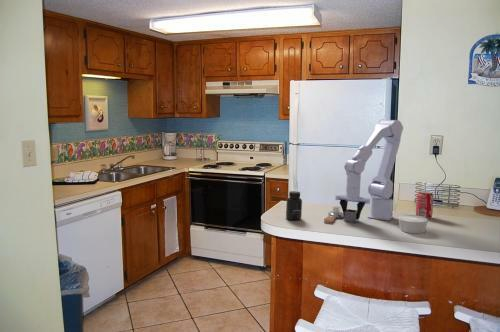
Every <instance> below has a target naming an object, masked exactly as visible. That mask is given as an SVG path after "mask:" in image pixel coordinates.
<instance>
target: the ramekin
mask: <svg viewBox="0 0 500 332" xmlns="http://www.w3.org/2000/svg"><path fill="white" fill-rule="evenodd" d="M397 219H398V224H399V230H400V231H402V232H404V233H407V234H412V235H413V234H415V235H417V234H418V235H420V234H423V233H425V232H426V230H427V226H428V225H427V224H428V223H429V219H426V218H424V217H421V216H416V214H403V215H402V214H401V215H399V216H398V218H397Z"/></svg>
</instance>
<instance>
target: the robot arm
mask: <svg viewBox="0 0 500 332" xmlns="http://www.w3.org/2000/svg"><path fill="white" fill-rule="evenodd" d="M403 130H404V126H403V123H402V122H401V121H400V120H399V119H395V120H394V119H380V120H379V121H377V123H376V125H375V129H374V131H373V133H372V134H371V136H370V137H369V139H368V141H367V142H366V143H365V145H361V146H359V147H358V150H357V151H356V152H355V154H353V156H352V157H351V159H348V160H347V161H346V163H345V165H344V170H345V173H346V174H345V175H346V185H345V186H346V188H345V190H346V191H345V194H344V195H341V194H336V195H335V201H339V205H340V208H341V210H342V213H343V214H344V216H345V211H346V210H347V209H348V202H352V203H357V204H356V210H357V219H359V220H360V217H361V214H362V211H363V209H364V207H365V205H366V204H367V205H369V204H370V214H369V215H368V216H367V218H369V219H375V220H376V219H377V220H383V221H391V219H392V218H393V212H394V199H390V198H391V197H392V195H393V191H394V190H393V187H394V182H393V181H392V180H391V175H392V172H393V168H394V165H395V161H396V158H397V155H398V151H399V147H400V144H401V137H402V134H403ZM382 139H385V141H386V145H385V148H384V151H383V156H382V159H381V162H380V166H379V169H378V172H377V175H376V176H374V177H372V179H371V182H370V183H369V184H368V187H367V193H368V194H369V196H370V198H368V197H367V198H366V197H361V195H360V194H361V177H362V173H363V172H364V171H365V166H366V163H367V161H369V159H370V157H371V156H373V149H374V148H375V147H376V146H377V144H378V143H379V142H380V141H381V140H382Z"/></svg>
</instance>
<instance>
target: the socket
mask: <svg viewBox="0 0 500 332" xmlns="http://www.w3.org/2000/svg"><path fill="white" fill-rule="evenodd" d="M359 221H360V218H359V219H357V209H349V208H347V210H346V211H345V216H344V218H343V222H345V223H351V224H357V223H358V222H359Z"/></svg>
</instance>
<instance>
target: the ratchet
mask: <svg viewBox="0 0 500 332" xmlns="http://www.w3.org/2000/svg"><path fill="white" fill-rule="evenodd" d="M327 214H328V216H326V217H325V218H324V219H323V223H324V224H330V225H332V224H333V223H334V222H335V220H337V219H344V214H343V211H341V206H338V205H334V206H332V211H329V212H328V213H327Z"/></svg>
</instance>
